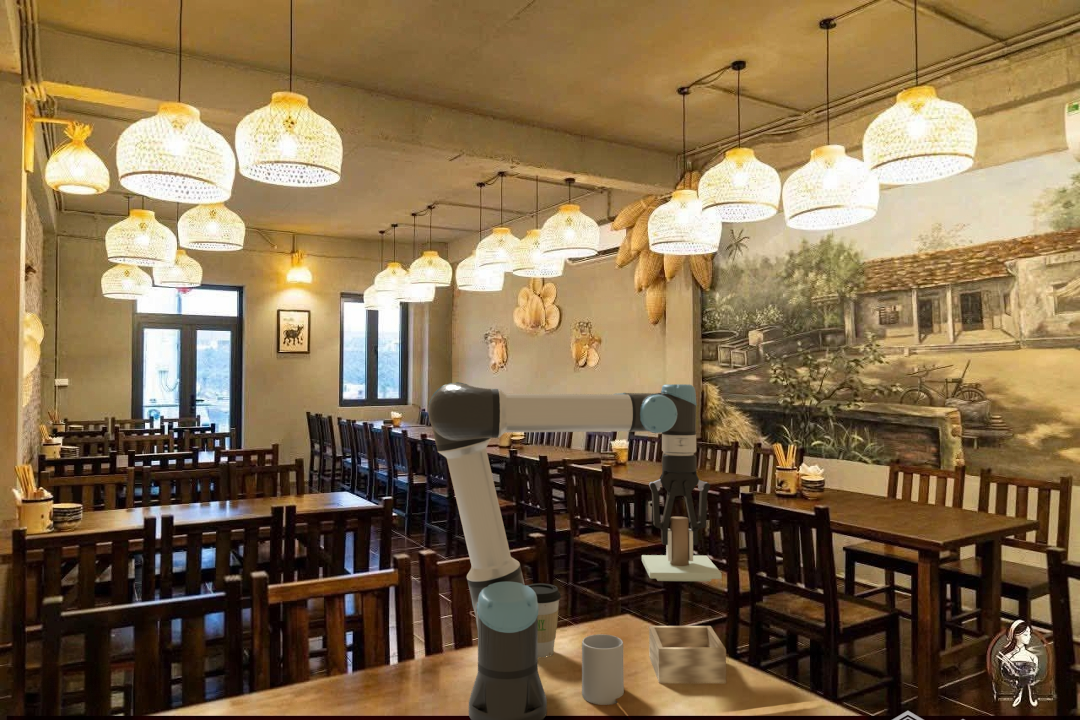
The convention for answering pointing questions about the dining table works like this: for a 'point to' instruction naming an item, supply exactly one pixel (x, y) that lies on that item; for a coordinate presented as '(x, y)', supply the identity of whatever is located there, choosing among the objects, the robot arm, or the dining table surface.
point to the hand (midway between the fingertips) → (679, 559)
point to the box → (687, 654)
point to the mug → (602, 669)
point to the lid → (680, 559)
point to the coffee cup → (546, 616)
